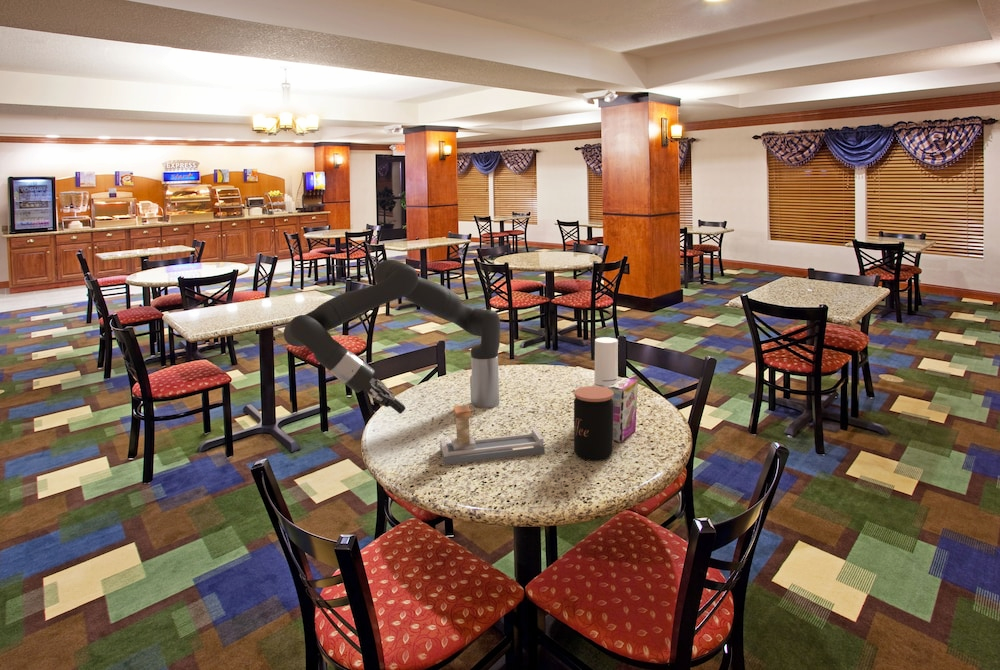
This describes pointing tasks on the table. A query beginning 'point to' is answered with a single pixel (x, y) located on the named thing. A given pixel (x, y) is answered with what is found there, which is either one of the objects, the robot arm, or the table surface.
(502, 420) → the table surface
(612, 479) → the table surface
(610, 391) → the coffee jar
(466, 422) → the slider
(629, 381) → the candy bar box
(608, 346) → the cylindrical container
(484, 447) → the track
